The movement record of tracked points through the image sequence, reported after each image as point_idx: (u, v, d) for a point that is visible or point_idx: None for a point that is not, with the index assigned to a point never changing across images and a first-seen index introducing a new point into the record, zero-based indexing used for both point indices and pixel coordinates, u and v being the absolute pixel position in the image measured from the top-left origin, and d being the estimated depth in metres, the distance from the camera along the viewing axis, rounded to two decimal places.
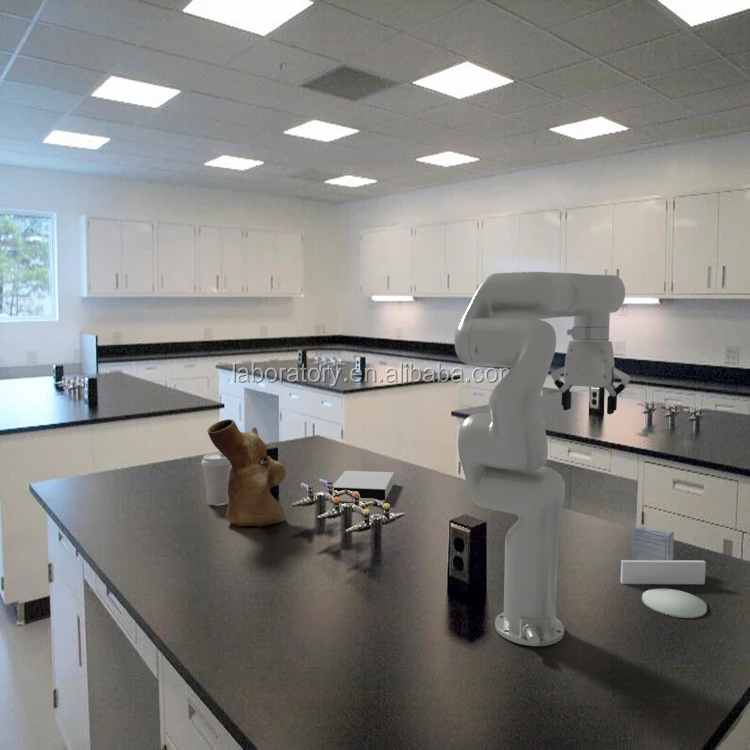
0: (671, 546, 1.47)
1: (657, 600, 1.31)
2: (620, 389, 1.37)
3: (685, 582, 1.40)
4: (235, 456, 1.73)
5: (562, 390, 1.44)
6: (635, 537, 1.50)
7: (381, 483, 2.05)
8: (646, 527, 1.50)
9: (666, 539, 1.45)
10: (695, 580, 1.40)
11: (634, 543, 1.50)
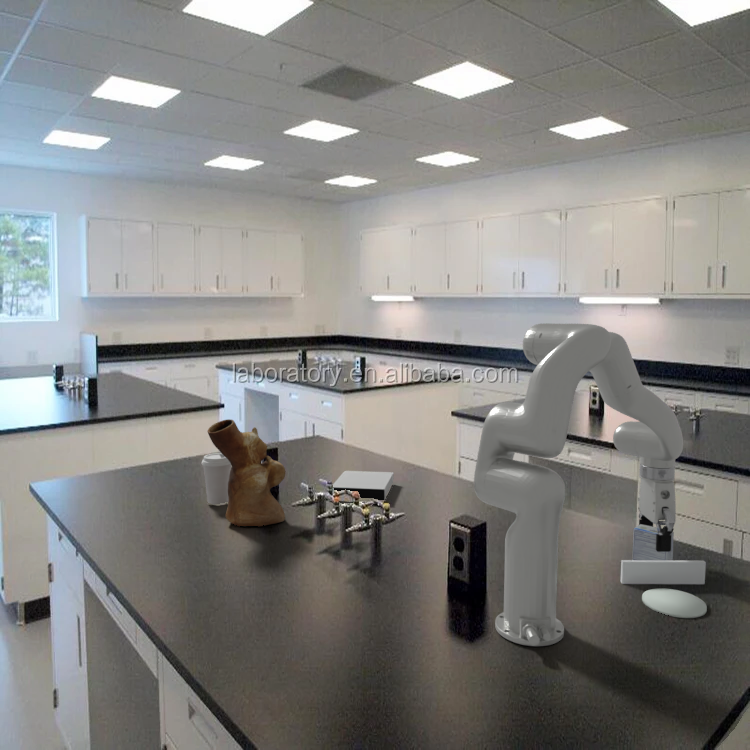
0: (671, 546, 1.47)
1: (657, 600, 1.31)
2: None
3: (685, 582, 1.40)
4: (235, 456, 1.73)
5: None
6: (635, 537, 1.50)
7: (381, 483, 2.05)
8: (646, 527, 1.51)
9: None
10: (695, 580, 1.40)
11: (634, 543, 1.51)
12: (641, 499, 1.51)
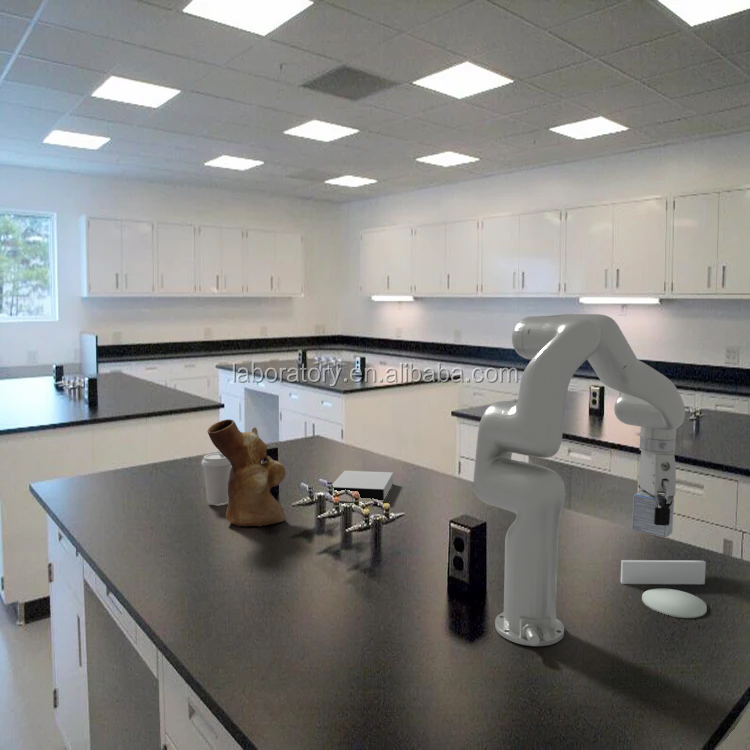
0: (671, 512, 1.46)
1: (657, 600, 1.31)
2: None
3: (685, 582, 1.40)
4: (235, 456, 1.73)
5: None
6: (635, 503, 1.49)
7: (380, 483, 2.05)
8: (646, 494, 1.49)
9: None
10: (695, 580, 1.40)
11: (634, 510, 1.49)
12: (641, 473, 1.50)
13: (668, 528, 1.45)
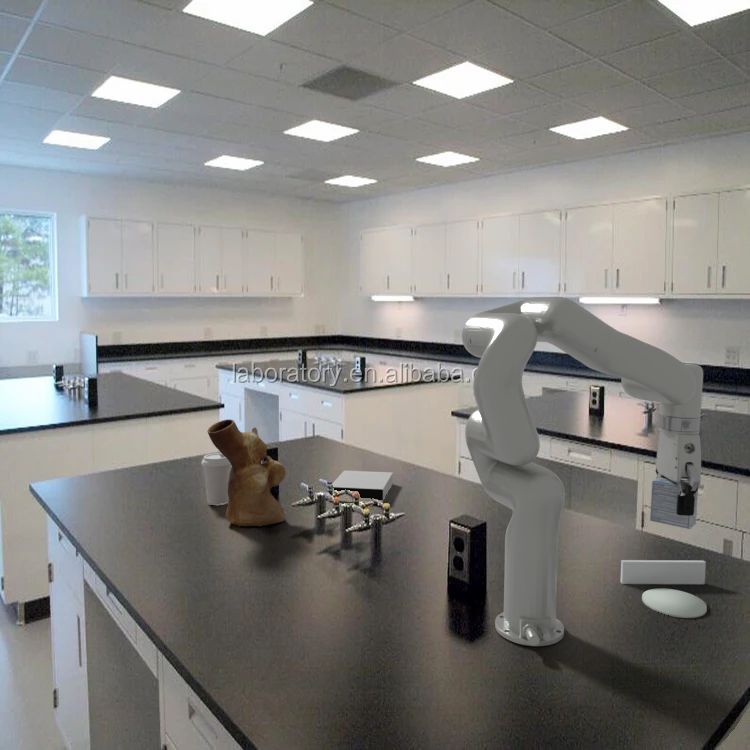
0: (695, 500, 1.28)
1: (657, 600, 1.31)
2: None
3: (685, 582, 1.40)
4: (235, 456, 1.73)
5: None
6: (653, 491, 1.31)
7: (380, 483, 2.05)
8: (666, 480, 1.31)
9: None
10: (695, 580, 1.40)
11: (652, 498, 1.31)
12: (659, 456, 1.32)
13: (692, 518, 1.27)
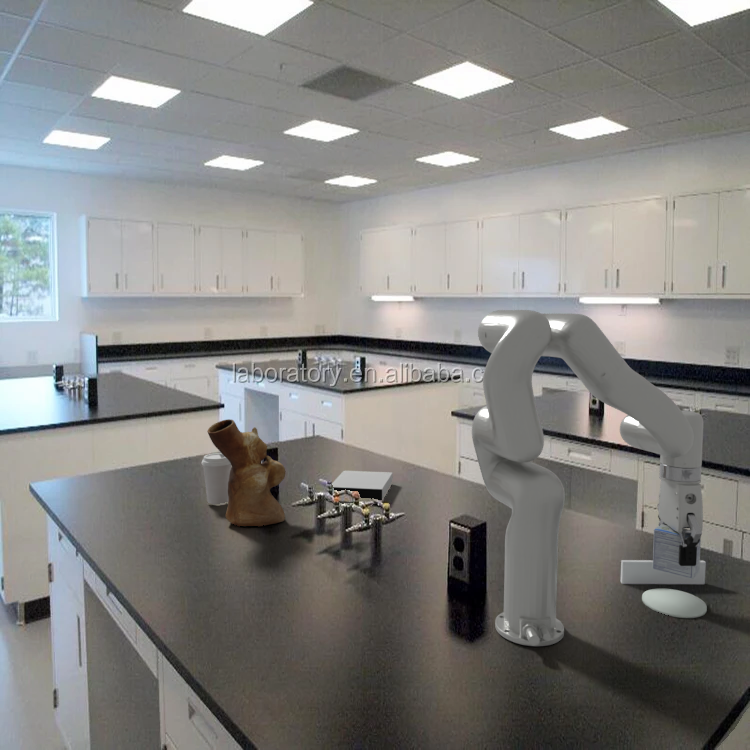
0: (698, 549, 1.27)
1: (657, 600, 1.31)
2: None
3: (685, 582, 1.40)
4: (235, 456, 1.73)
5: None
6: (656, 539, 1.30)
7: (379, 483, 2.05)
8: (668, 528, 1.30)
9: None
10: (695, 580, 1.40)
11: (654, 546, 1.30)
12: (661, 504, 1.31)
13: (695, 567, 1.26)
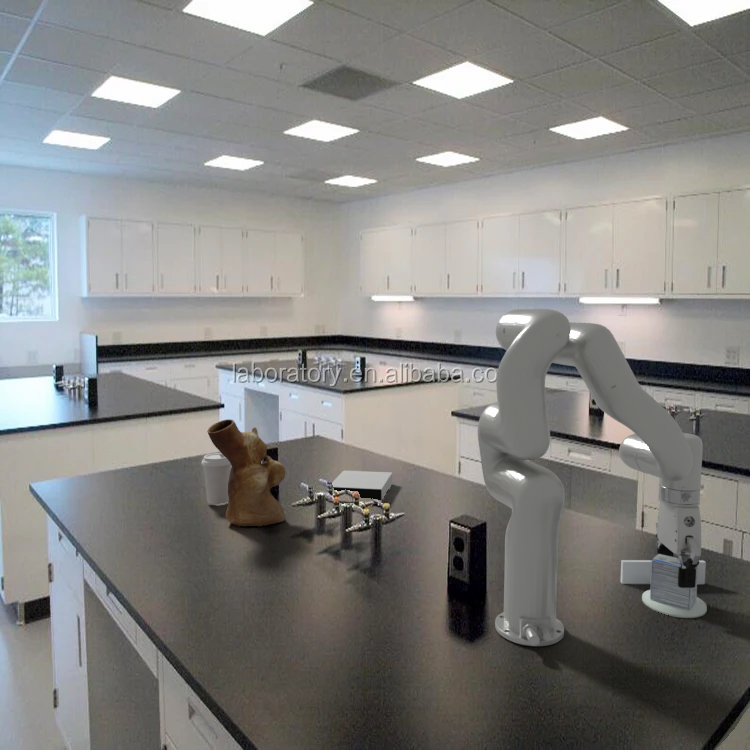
0: None
1: None
2: None
3: None
4: (235, 456, 1.73)
5: None
6: (653, 569, 1.30)
7: (378, 483, 2.05)
8: (665, 558, 1.30)
9: None
10: None
11: (652, 576, 1.30)
12: (660, 525, 1.31)
13: (693, 598, 1.27)
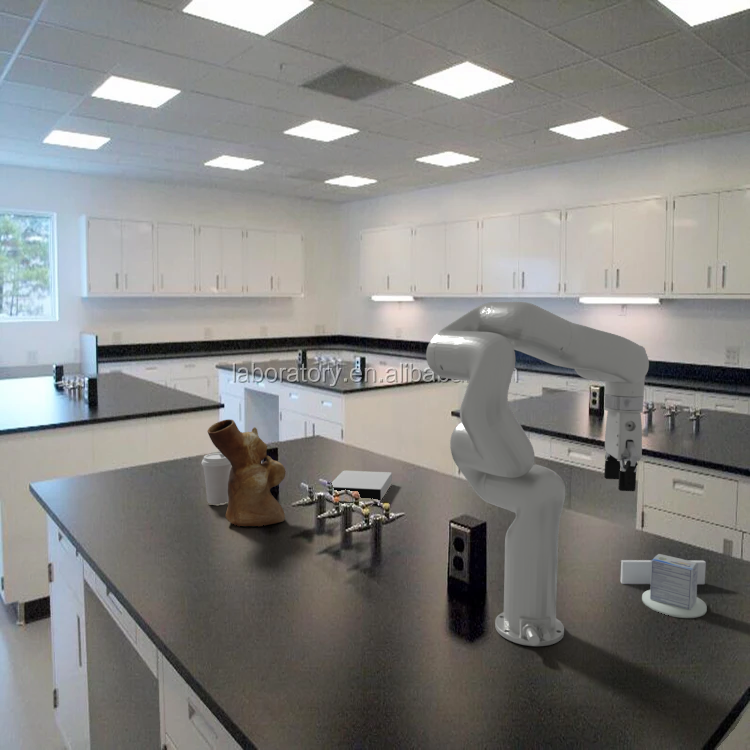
0: (695, 580, 1.27)
1: None
2: None
3: None
4: (235, 456, 1.73)
5: None
6: (653, 569, 1.30)
7: (378, 483, 2.05)
8: (665, 558, 1.30)
9: (690, 573, 1.25)
10: None
11: (652, 576, 1.30)
12: (606, 435, 1.36)
13: (693, 598, 1.27)
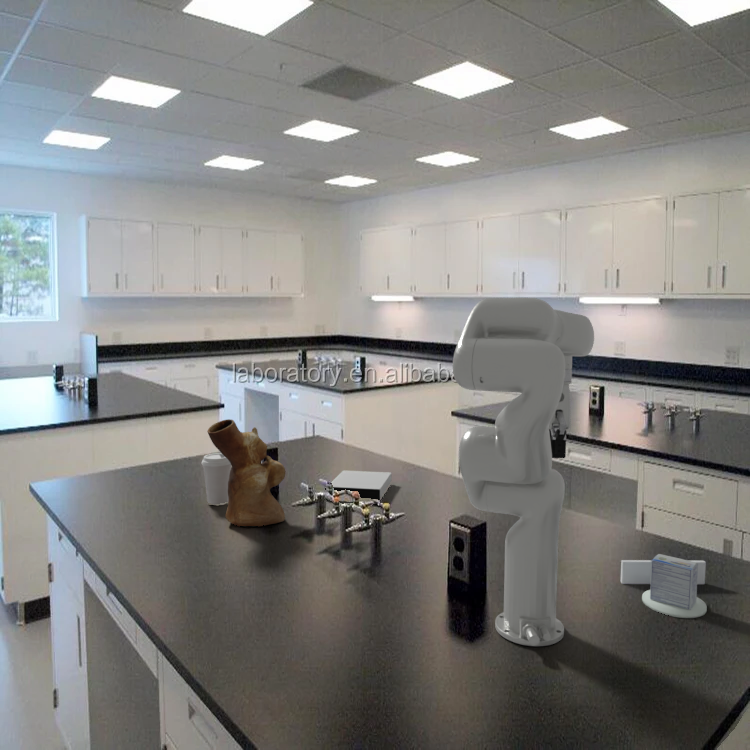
0: (695, 580, 1.27)
1: None
2: None
3: None
4: (235, 456, 1.73)
5: None
6: (653, 569, 1.30)
7: (377, 483, 2.05)
8: (665, 558, 1.30)
9: (690, 573, 1.25)
10: None
11: (652, 576, 1.30)
12: None
13: (693, 598, 1.27)
